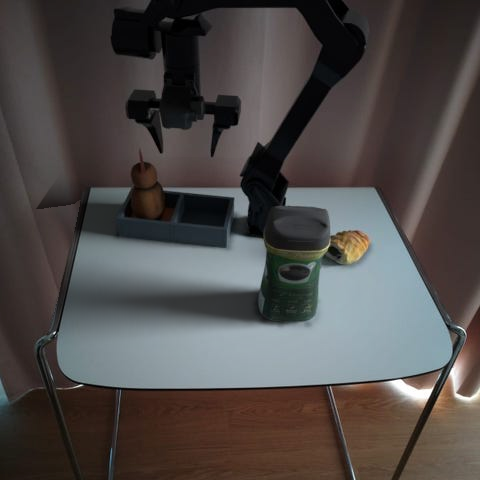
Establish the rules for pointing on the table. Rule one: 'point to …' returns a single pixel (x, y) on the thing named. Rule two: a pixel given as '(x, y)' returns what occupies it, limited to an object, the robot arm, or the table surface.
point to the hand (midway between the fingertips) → (187, 154)
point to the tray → (182, 220)
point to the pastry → (347, 246)
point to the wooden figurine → (146, 192)
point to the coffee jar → (293, 262)
